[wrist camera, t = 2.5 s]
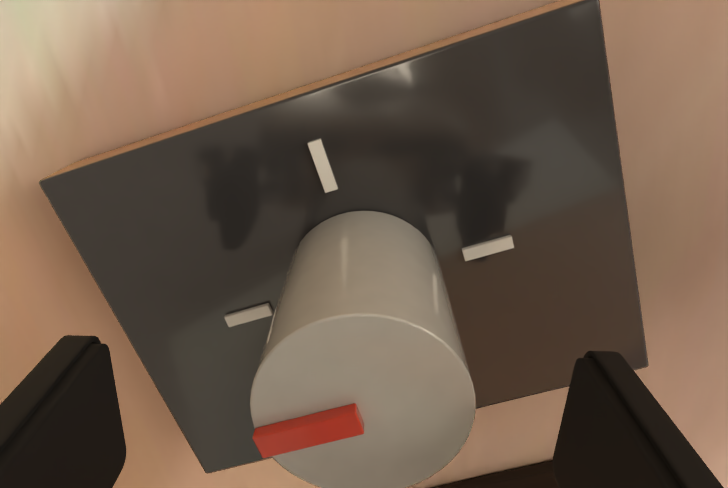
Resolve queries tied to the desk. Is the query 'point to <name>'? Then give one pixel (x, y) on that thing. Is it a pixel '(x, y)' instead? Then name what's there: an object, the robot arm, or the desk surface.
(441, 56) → the hob console
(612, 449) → the robot arm
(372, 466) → the hob knob
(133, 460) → the desk surface
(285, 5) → the desk surface
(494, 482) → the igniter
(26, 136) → the desk surface
